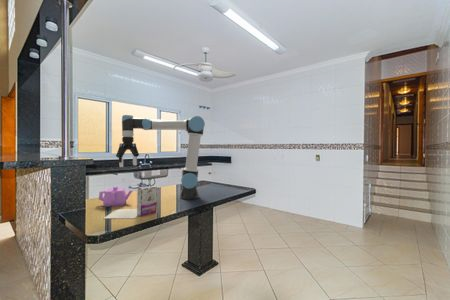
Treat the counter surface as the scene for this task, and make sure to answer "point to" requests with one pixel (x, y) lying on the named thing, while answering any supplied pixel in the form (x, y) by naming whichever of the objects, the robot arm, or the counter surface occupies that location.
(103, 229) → the counter surface
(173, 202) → the counter surface
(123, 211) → the mat
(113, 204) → the teakettle
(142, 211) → the candy bar box
